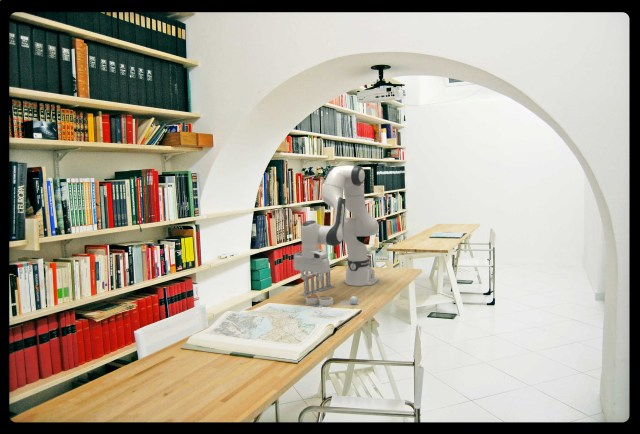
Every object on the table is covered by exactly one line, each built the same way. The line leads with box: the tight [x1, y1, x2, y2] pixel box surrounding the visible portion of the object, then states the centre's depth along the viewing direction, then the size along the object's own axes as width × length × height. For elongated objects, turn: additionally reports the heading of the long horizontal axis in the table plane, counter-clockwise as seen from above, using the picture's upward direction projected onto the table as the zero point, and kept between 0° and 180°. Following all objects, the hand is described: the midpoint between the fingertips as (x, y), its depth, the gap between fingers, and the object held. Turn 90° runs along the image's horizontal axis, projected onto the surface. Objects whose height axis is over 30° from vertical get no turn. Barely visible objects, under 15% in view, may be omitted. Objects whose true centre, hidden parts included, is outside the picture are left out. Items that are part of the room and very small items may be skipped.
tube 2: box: [319, 296, 334, 307], centre depth 239 cm, size 7×7×3 cm
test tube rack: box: [299, 267, 335, 297], centre depth 267 cm, size 25×4×13 cm, turn 141°
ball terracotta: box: [309, 293, 318, 299], centre depth 244 cm, size 4×4×4 cm
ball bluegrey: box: [349, 295, 359, 304], centre depth 236 cm, size 4×4×4 cm
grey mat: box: [337, 300, 361, 307], centre depth 238 cm, size 6×10×1 cm, turn 57°
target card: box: [299, 301, 336, 308], centre depth 240 cm, size 10×15×1 cm, turn 57°
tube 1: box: [305, 294, 321, 304], centre depth 244 cm, size 7×7×3 cm
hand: (311, 280), depth 243 cm, fingers open, 8 cm apart
